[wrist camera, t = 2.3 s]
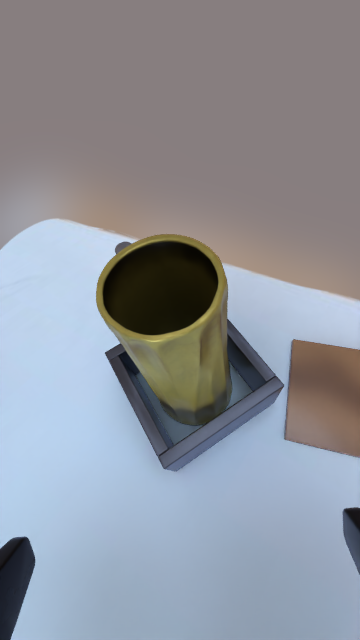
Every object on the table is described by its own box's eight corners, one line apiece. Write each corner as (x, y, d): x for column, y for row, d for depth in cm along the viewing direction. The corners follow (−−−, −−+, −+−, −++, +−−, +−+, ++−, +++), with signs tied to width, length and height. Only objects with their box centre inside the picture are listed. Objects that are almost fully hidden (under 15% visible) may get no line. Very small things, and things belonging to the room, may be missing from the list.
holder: (274, 402, 22) (317, 331, 12) (175, 472, 20) (124, 461, 10) (202, 312, 27) (187, 206, 16) (118, 363, 25) (44, 282, 15)
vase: (218, 437, 21) (208, 376, 9) (145, 409, 23) (53, 326, 11) (240, 364, 24) (256, 238, 11) (173, 344, 26) (125, 216, 13)
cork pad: (412, 470, 19) (415, 470, 18) (284, 439, 20) (285, 438, 20) (399, 358, 22) (402, 356, 22) (292, 341, 24) (293, 339, 24)
